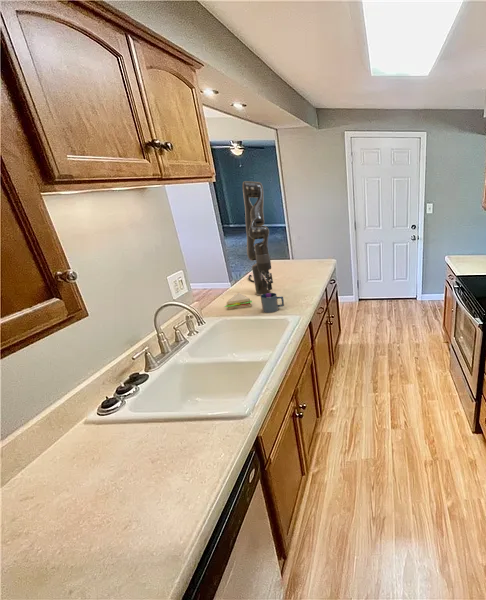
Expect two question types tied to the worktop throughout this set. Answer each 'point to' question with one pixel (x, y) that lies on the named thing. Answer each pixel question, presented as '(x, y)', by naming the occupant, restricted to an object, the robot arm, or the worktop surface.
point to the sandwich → (238, 301)
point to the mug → (271, 303)
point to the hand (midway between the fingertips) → (267, 288)
